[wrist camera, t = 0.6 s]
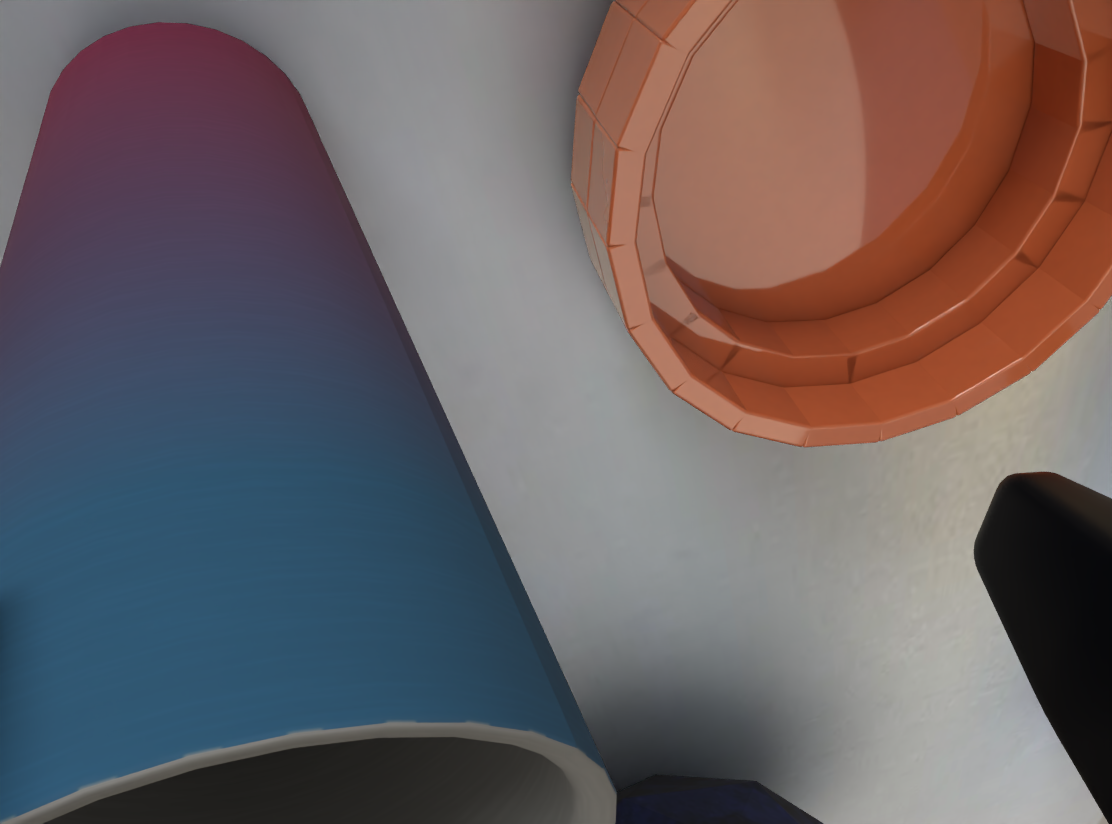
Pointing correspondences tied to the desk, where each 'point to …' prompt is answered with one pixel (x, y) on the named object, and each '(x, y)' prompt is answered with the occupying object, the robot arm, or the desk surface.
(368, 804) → the cup
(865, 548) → the desk surface
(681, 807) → the decorative orb
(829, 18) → the bowl
